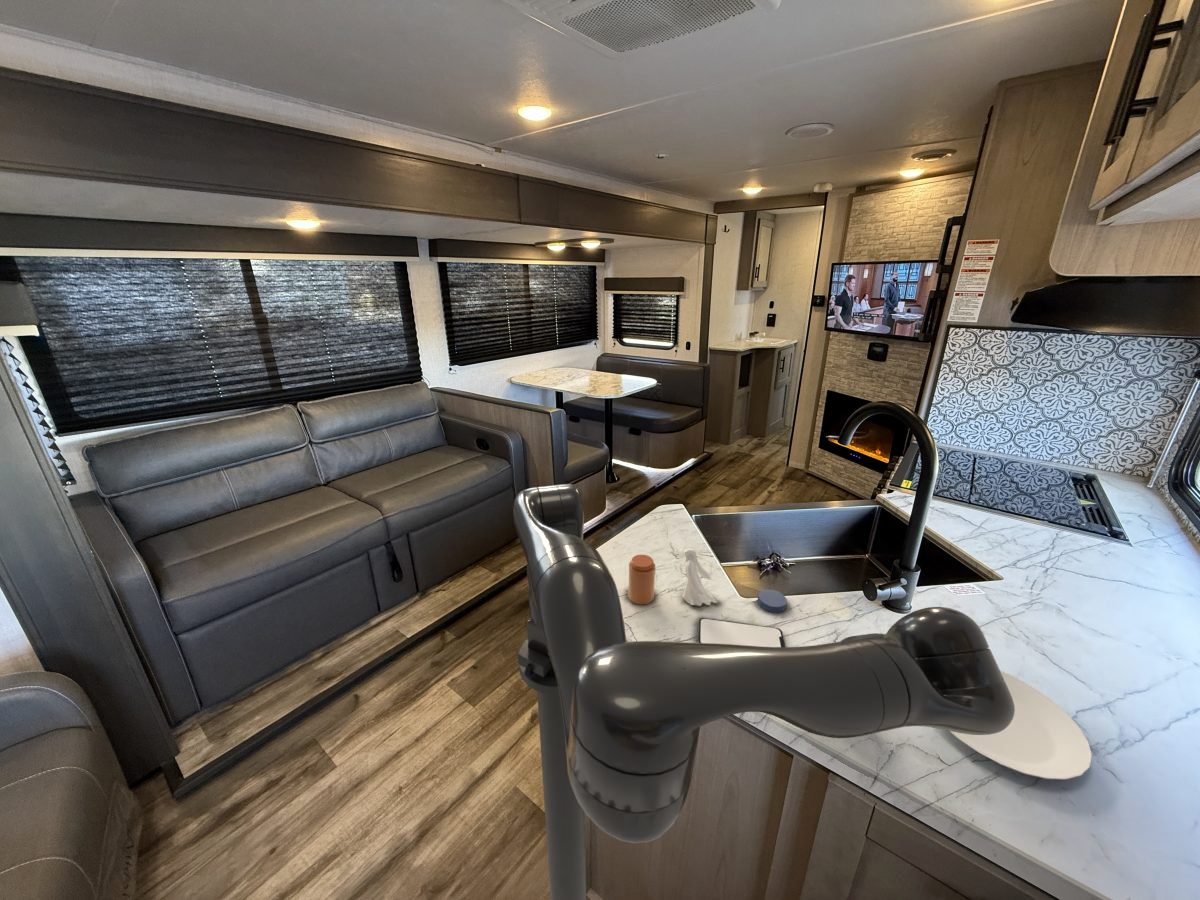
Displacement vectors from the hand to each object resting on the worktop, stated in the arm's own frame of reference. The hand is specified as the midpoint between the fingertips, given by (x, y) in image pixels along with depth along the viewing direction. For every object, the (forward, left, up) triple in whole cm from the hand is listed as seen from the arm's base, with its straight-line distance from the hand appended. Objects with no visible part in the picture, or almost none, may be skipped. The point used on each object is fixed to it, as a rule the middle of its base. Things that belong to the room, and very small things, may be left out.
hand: (832, 665), depth 72 cm
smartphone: (+8, +15, -8) cm, 19 cm away
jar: (+10, +38, -8) cm, 40 cm away
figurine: (+15, +26, -9) cm, 32 cm away
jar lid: (+22, +12, -7) cm, 26 cm away
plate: (+11, -23, -9) cm, 27 cm away
